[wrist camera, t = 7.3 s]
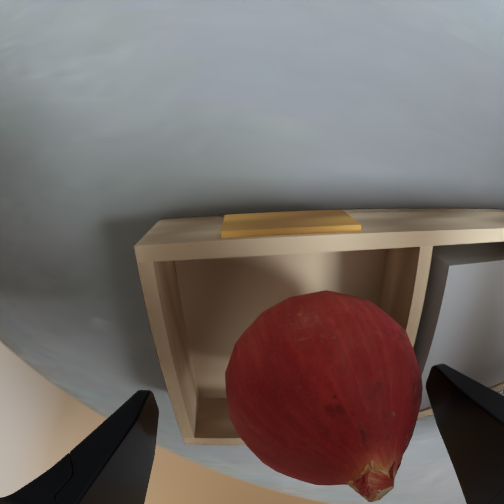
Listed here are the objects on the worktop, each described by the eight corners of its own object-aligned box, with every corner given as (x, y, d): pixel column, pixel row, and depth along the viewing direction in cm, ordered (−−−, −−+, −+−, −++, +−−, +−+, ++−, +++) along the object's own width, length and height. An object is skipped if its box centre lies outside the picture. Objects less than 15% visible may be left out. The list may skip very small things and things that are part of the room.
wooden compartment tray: (527, 206, 11) (571, 224, 8) (489, 355, 15) (517, 387, 12) (159, 214, 11) (129, 242, 8) (192, 397, 15) (184, 449, 11)
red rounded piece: (357, 250, 12) (523, 353, 5) (348, 369, 14) (445, 496, 6) (205, 270, 11) (248, 464, 4) (223, 395, 13) (264, 565, 5)
